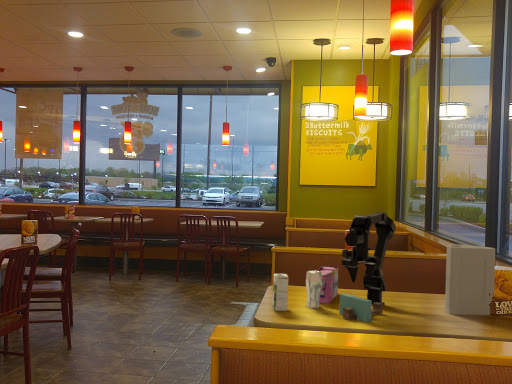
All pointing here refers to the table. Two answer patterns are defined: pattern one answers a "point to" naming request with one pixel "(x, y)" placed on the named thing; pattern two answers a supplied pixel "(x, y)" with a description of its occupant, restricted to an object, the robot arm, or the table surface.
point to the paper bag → (469, 279)
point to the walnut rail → (349, 315)
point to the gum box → (328, 283)
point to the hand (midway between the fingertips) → (360, 281)
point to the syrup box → (280, 292)
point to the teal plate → (356, 306)
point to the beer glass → (313, 288)
